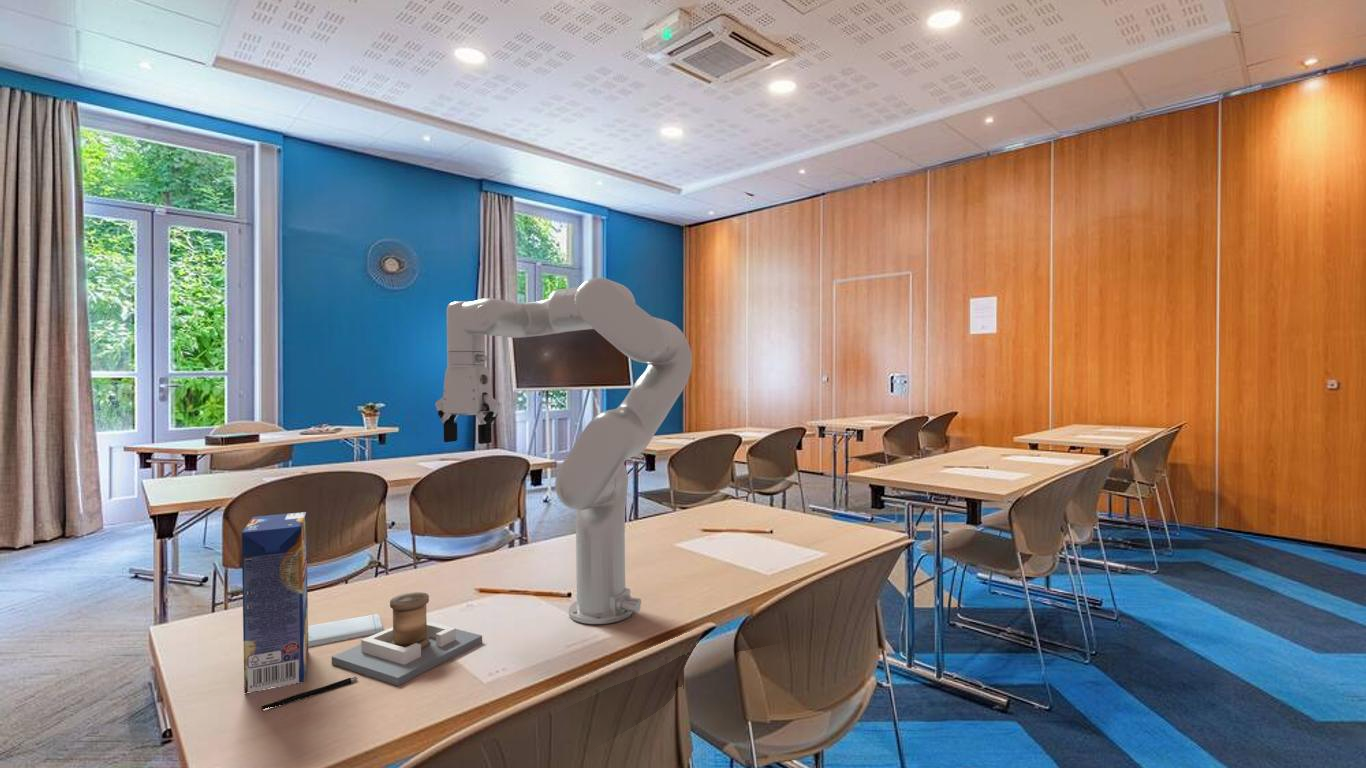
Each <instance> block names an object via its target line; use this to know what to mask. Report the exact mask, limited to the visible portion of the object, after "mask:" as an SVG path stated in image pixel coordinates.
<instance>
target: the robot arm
mask: <svg viewBox="0 0 1366 768" xmlns="http://www.w3.org/2000/svg"><path fill="white" fill-rule="evenodd" d="M583 330H585V331H587V330H594V331H596V332H597V333H598V334H599V335H601V336H602V337H603V338H604V339H605V340H606V341H607V342H609V343H610V344H611V345H612V346H614V347H615V348H616V349H617V350H618V351H619V352H621V353H622V354H623V355H625V356H626V357H627V358H629V359H630V360H632V361H635V362H638V363H641V364H642V363H643V364H645V363H646V364H647V367H646V368H645V370H644V371H643V373H642V374H641V375H640V376H639V377H638V378H637V380H636V381H635V382H634V384H633V385H632V387H631V388H630V390H629V392H628V394H627V395H626V396H625V398H624V400H622V402H621V403H620V404H619V405H618V406H617V407H616V408H614V409H608V410H605V411H602V412H600V413H598V414H597V415H595V416H594V417H593V418H592V419H591V420H589V423H587V425H586V426H585V428H584V429H583V430H582V432H581V434H580V435H579V436H578V438H577V440H576V441H575V442H574V445H573V446H572V448H571V449H570V451H569V453H568V454H567V456H566V457H565V459H564V460H563V462H562V463H561V465H560V467H559V469H558V470H557V474H556V477H555V481H554V488H555V493H556V496H557V498H558V499H559V502H560V503H561V504H563V506H565V507H567V508H568V509H571V510H575V511H577V512H576V521H575V523H576V524H575V526H576V527H575V531H576V533H575V541H576V542H575V547H576V548H575V549H576V550H575V554H576V558H575V559H576V560H575V561H576V562H575V563H576V564H575V566H576V601H574V602H573V603H572V604H571V605H570V606H569V608H568V615H569V617H570V619H572V620H573V621H574V622H577V623H581V624H587V625H607V624H611V623H612V624H613V623H617V622H620V621H623V620H625V619H627V618H629V617H630V616H631V615H632V614H634V613H635V614H639V612H640V611H641V605H642V599H641V598H639V597H638V598H637V597H632V596H631V588H627V587H626V541H625V540H626V535H625V533H626V521H625V520H626V506H627V505H626V502H627V495H628V488H629V486H628V484H629V477H628V476H629V474H628V470H627V467H626V464H625V462H626V460H629V459H631V458H632V457H633V458H634V457H636V456H638V455H639V454H641V453H642V452H644V451H645V449H646V448H647V447H648V446H649V444H650V442H651V441H652V439H653V438H654V436H655V434H656V432H657V431H658V429H659V428H660V427H661V425H662V423H663V422H664V420H665V419H666V418H667V415H668V414H669V413H670V411H671V409H672V408H673V406H674V405H675V403H676V402H677V399H678V398H679V397H680V395H681V393H682V392H683V390H684V388H685V387H686V384H687V383H688V380H689V378H690V375H691V371H692V366H693V365H692V364H693V357H692V350H691V347H690V344H689V342H688V340H687V338H686V336H685V334H684V333H683V332H682V330H681V329H680V328H679V327H678V326H677V325H676V324H674V323H673V322H670V321H668V320H666V319H663V318H659V317H654V316H652V315H651V314H649V313H648V312H647V311H645V310H644V309H643V308H641V307H640V306H639V305H638V304H637V303H636V299H635V296H634V294H633V293H632V291H631V290H630V289H629V288H628V287H626V286H625V285H623V284H621V283H619V282H616V281H613V280H611V279H608V278H607V277H606V278H605V277H593V278H589V279H587V280H585V281H584V282H582V284H580V286H577V287H576V286H575V287H568V288H560V289H555V290H552V292H551V293H550V294H549V295H548V298H547V299H544V300H539V301H529V302H513V301H509V300H505V299H504V300H503V299H500V298H499V299H498V298H494V297H493V298H492V297H488V298H487V297H486V298H481V299H476V300H473V301H467V300H466V301H464V300H463V301H462V300H460V301H452V302H450V303H449V304H448V305H447V307H446V352H447V353H446V354H447V357H446V358H447V360H446V361H447V364H446V365H447V367H446V369H445V374H444V382H443V396H442V397H441V398H439V399H438V400H437V401H435V404H434V405H435V408H436V410H437V415H438V417H439V418H440V422H441V423H442V424H443V442H444V443H449V442H450V443H451V442H453V443H454V442H457V440H458V422H455V421H456V420H457V418H458V417H459V416H460V415H461V416H475V417H476V418H477V421H479V423H480V424H478V425H477V442H478V444H479V445H484V444H492V437H493V436H492V425H493V424H495V419H496V418H497V416H498V415H499V414H498V413H499V410H500V407H501V402H500V401H498V400H497V399H495V398H494V396H493V387H492V386H493V385H492V378H491V374H490V370H489V367H487V366H486V362H487V361H488V356H487V355H486V336H492V337H493V336H494V337H505V338H510V339H511V338H512V339H514V338H515V339H517V338H519V339H520V338H528V337H529V338H531V337H540V336H547V335H553V334H562V333H567V332H577V331H583Z"/></svg>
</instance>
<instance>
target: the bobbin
mask: <svg viewBox="0 0 1366 768" xmlns="http://www.w3.org/2000/svg"><path fill="white" fill-rule="evenodd" d="M429 601H430V595H429V594H428V593H426V592H417V591H416V592H406V593H402V594H399V595H397V596H394V597H392V598H391V599H390V600H389V607H390V609H392V627H393V641H392V642H391V644H394V645H397V646H401V647H404V648H406V647H408V646H410V645H413V644H415V643H418V644H421V649H423V648H425V647H427V646H428V645H429V636H428V635H427V621H428V620H427V604H428V603H429Z"/></svg>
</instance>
